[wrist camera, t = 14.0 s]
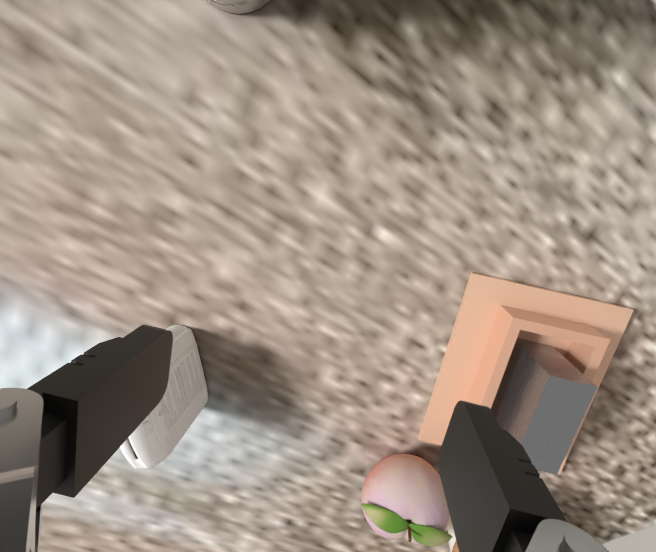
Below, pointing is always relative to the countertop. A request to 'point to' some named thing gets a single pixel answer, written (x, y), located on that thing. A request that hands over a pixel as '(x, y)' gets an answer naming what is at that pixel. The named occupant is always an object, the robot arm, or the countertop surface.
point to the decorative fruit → (406, 500)
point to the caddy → (501, 334)
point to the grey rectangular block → (542, 402)
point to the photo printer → (171, 405)
